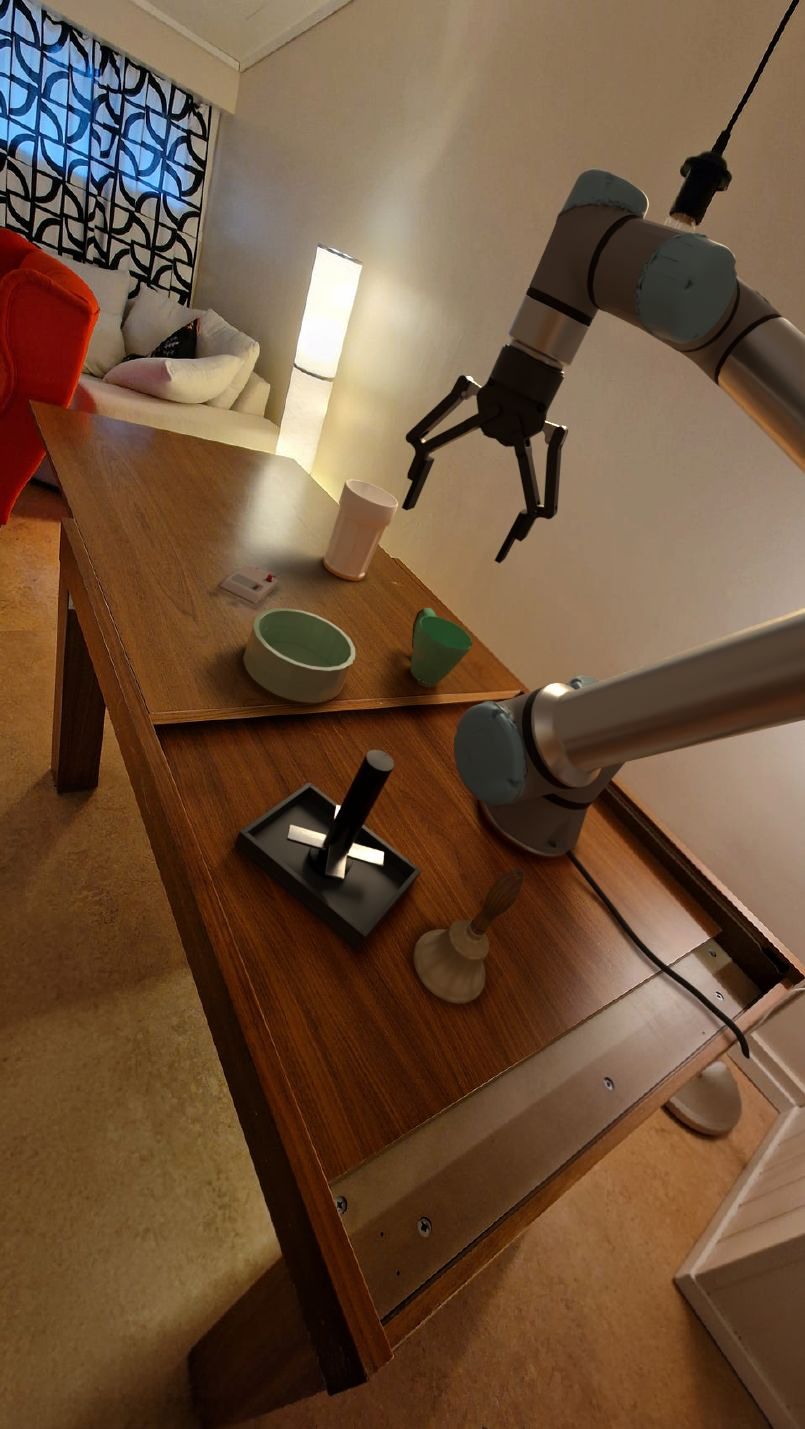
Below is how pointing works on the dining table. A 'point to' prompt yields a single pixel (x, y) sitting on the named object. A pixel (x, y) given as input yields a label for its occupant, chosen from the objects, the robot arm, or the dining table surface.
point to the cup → (358, 528)
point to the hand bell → (464, 946)
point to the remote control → (250, 583)
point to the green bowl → (298, 655)
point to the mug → (436, 647)
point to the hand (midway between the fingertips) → (453, 533)
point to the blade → (348, 823)
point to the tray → (333, 901)
